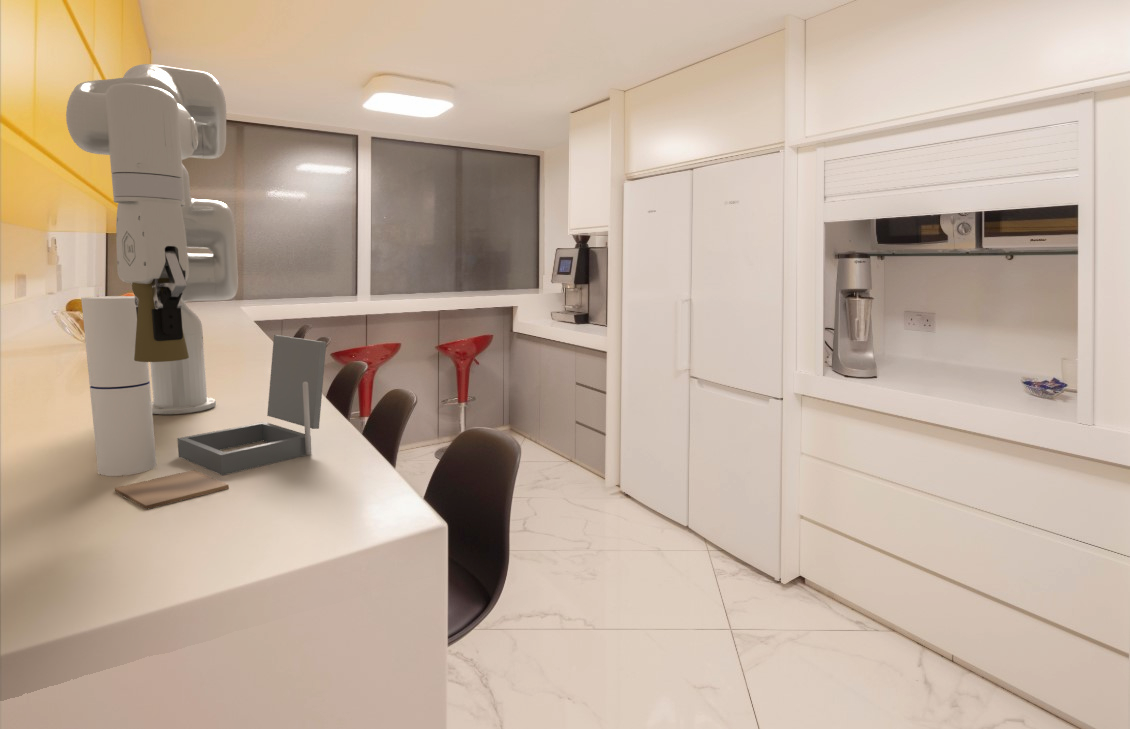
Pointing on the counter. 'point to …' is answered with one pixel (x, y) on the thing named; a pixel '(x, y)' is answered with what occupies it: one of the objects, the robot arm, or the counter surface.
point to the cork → (145, 342)
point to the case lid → (296, 379)
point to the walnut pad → (170, 489)
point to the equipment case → (277, 449)
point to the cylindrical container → (118, 387)
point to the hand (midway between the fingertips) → (160, 337)
